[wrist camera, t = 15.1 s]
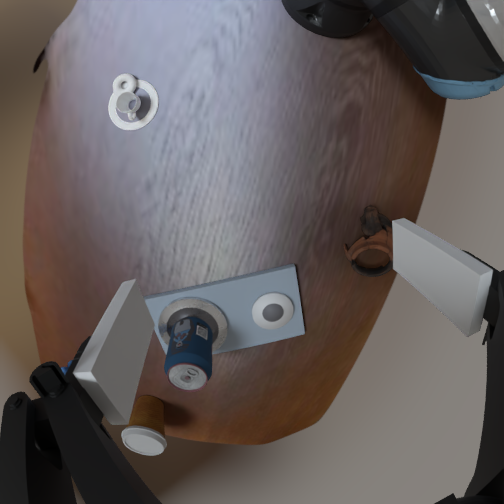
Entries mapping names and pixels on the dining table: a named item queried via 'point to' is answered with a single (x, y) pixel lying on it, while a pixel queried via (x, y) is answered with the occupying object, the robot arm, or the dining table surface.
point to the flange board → (246, 306)
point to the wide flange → (193, 309)
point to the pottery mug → (372, 241)
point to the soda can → (189, 355)
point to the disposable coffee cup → (146, 427)
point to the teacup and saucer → (125, 95)
